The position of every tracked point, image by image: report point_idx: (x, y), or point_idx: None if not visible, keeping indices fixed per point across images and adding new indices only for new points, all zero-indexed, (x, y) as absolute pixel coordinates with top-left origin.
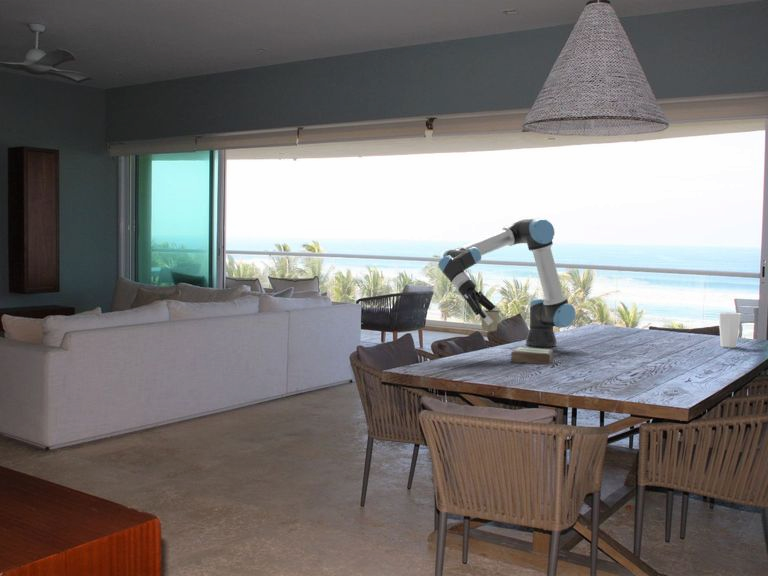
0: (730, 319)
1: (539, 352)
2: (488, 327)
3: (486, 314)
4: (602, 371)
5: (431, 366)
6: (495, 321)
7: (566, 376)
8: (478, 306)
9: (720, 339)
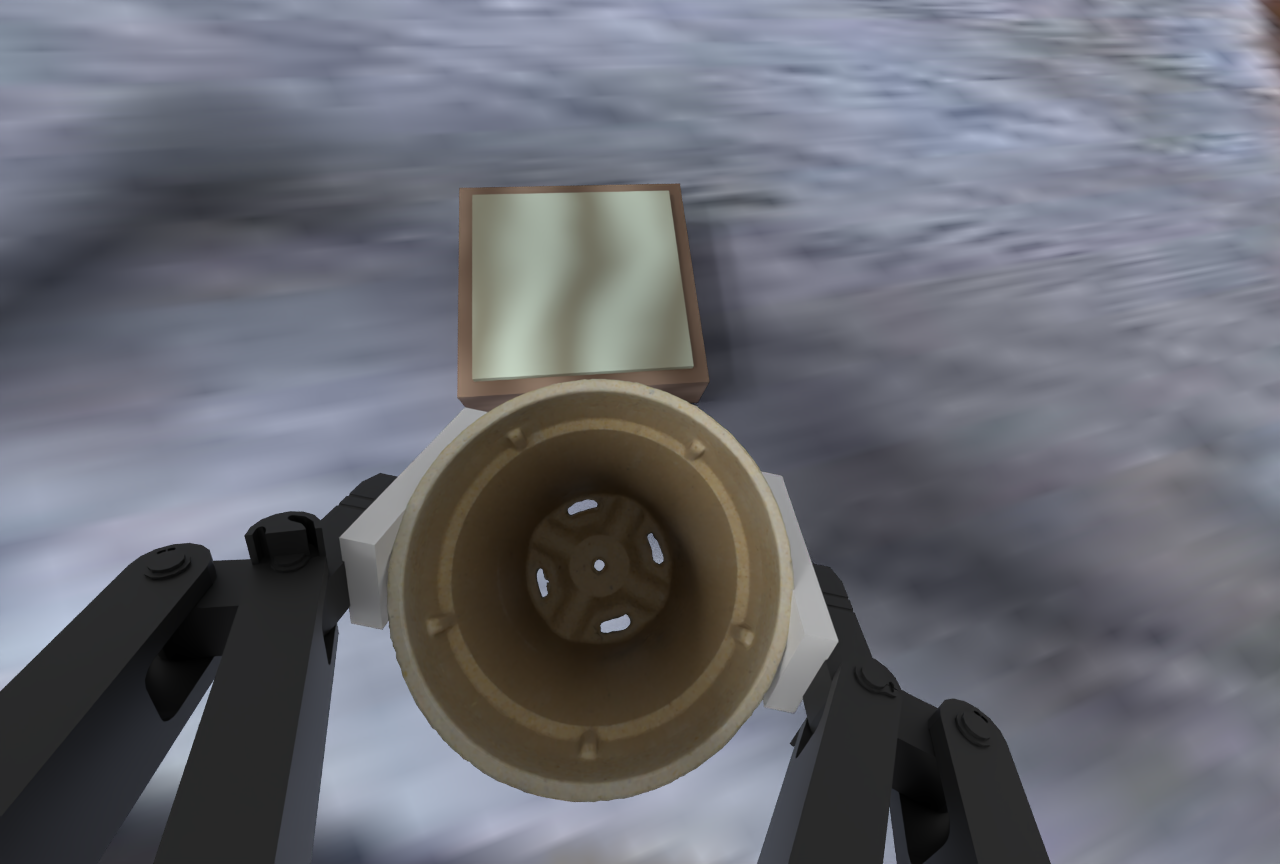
0: None
1: (663, 229)
2: (684, 553)
3: (808, 559)
4: (767, 33)
5: (1157, 809)
6: (651, 469)
7: (972, 132)
8: (889, 778)
9: None
